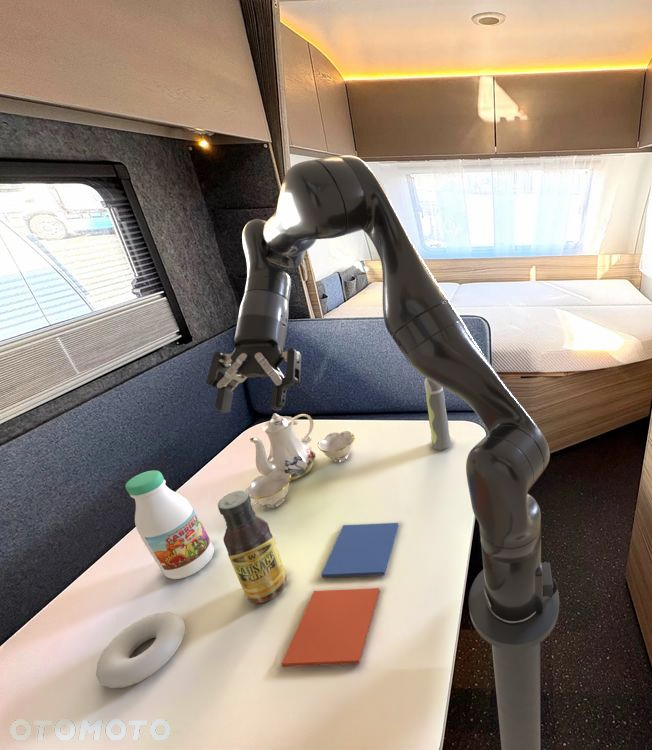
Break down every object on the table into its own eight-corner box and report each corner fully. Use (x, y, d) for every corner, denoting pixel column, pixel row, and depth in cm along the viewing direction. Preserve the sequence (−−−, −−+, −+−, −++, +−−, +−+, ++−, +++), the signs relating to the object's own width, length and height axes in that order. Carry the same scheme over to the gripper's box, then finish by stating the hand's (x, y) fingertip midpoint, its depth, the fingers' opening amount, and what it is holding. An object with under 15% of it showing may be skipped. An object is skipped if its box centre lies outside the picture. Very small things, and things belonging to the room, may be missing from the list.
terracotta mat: (379, 591, 65) (379, 588, 64) (359, 663, 55) (358, 660, 55) (314, 593, 65) (313, 590, 64) (282, 666, 55) (281, 663, 55)
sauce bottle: (248, 613, 62) (201, 524, 54) (246, 584, 67) (203, 497, 58) (292, 591, 65) (255, 503, 57) (288, 565, 70) (252, 480, 62)
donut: (93, 710, 51) (183, 666, 56) (78, 697, 50) (173, 652, 54) (115, 642, 59) (193, 608, 63) (103, 629, 58) (184, 595, 62)
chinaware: (272, 531, 80) (251, 470, 72) (221, 501, 86) (196, 442, 78) (368, 453, 102) (360, 400, 94) (322, 434, 108) (311, 383, 100)
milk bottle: (154, 582, 68) (97, 496, 60) (184, 546, 75) (138, 464, 67) (197, 579, 68) (147, 493, 60) (224, 543, 75) (182, 462, 67)
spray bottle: (445, 437, 104) (437, 371, 95) (454, 446, 101) (446, 377, 92) (429, 444, 102) (418, 376, 93) (437, 453, 98) (427, 383, 89)
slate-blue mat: (398, 525, 77) (397, 522, 77) (384, 574, 67) (383, 571, 67) (344, 528, 77) (343, 525, 77) (322, 577, 68) (321, 574, 67)
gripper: (207, 314, 65) (188, 407, 60) (293, 310, 65) (281, 403, 60) (236, 332, 72) (221, 417, 67) (313, 329, 72) (304, 413, 67)
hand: (249, 410), depth 64 cm, fingers open, 8 cm apart
